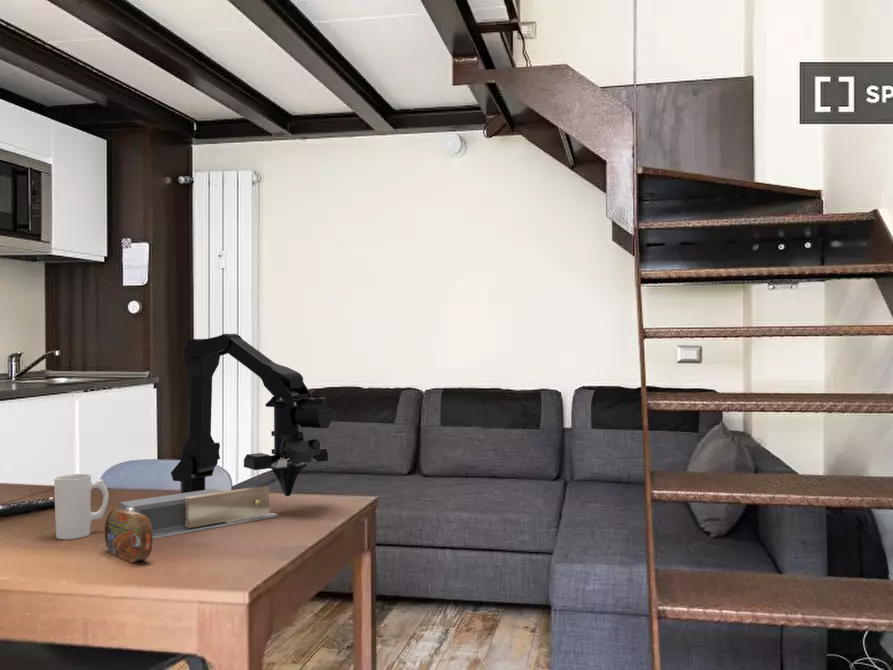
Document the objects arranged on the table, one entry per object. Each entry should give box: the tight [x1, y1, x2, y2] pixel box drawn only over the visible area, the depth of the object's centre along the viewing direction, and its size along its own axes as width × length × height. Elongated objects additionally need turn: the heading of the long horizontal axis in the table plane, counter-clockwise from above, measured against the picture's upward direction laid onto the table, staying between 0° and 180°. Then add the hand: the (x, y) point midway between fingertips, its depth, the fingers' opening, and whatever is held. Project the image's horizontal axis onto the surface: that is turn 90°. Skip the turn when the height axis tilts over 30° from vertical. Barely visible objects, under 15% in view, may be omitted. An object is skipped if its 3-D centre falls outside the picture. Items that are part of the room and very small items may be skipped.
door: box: [185, 485, 270, 528], centre depth 162 cm, size 3×18×6 cm, turn 130°
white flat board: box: [126, 507, 278, 540], centre depth 159 cm, size 2×32×7 cm, turn 130°
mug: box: [53, 473, 110, 541], centre depth 155 cm, size 10×7×12 cm, turn 119°
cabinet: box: [119, 488, 223, 534], centre depth 159 cm, size 6×20×6 cm, turn 130°
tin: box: [104, 509, 154, 564], centre depth 138 cm, size 15×3×8 cm, turn 47°
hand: (287, 495), depth 171 cm, fingers closed
